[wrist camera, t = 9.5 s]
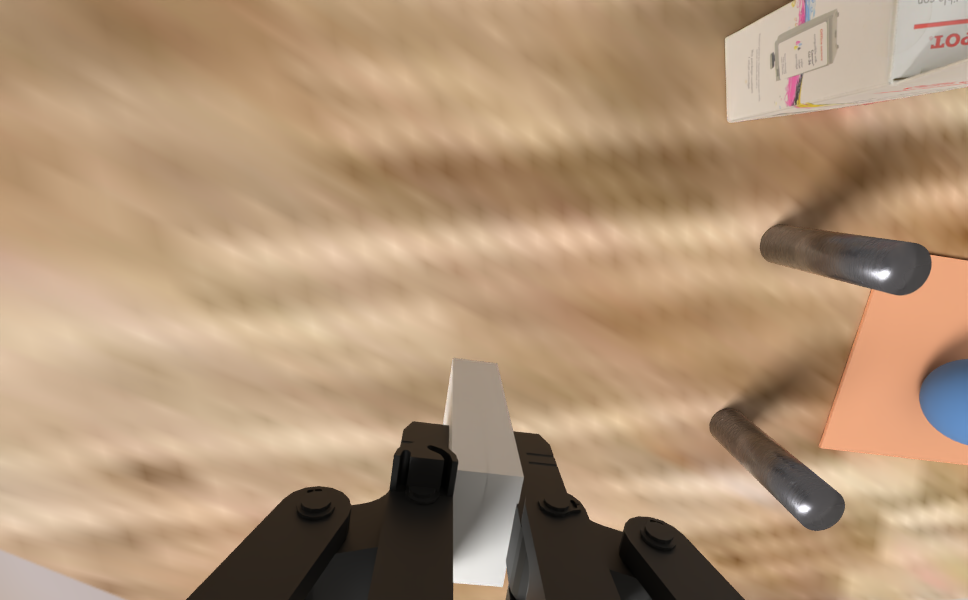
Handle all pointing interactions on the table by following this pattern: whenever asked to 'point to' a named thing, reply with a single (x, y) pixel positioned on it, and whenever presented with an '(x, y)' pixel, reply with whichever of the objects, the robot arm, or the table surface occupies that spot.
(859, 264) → the post
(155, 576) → the table surface
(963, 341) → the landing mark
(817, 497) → the post
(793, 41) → the ink cartridge box
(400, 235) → the table surface
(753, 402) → the table surface
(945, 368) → the ball
